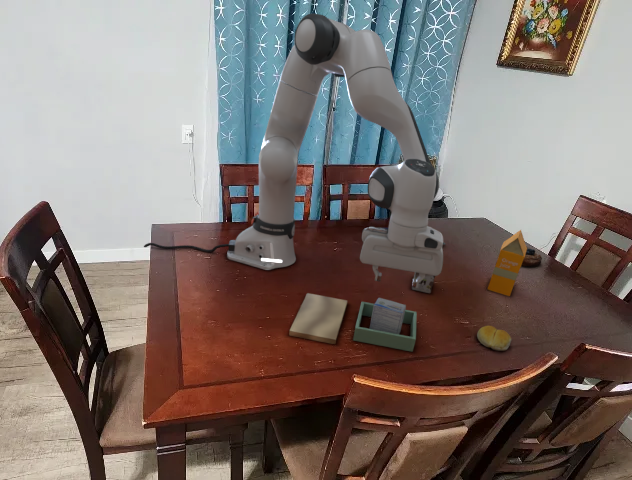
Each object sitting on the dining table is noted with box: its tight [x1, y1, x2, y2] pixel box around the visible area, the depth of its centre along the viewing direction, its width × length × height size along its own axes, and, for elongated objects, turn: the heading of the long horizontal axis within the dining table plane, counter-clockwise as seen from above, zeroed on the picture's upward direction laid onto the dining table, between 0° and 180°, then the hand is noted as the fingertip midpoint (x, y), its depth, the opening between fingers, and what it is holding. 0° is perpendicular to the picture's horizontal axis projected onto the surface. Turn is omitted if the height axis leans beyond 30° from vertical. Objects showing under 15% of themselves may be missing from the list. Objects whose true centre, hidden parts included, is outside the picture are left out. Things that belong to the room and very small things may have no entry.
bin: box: [352, 301, 418, 352], centre depth 118 cm, size 16×14×4 cm
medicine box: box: [369, 297, 407, 335], centre depth 117 cm, size 8×4×9 cm, turn 71°
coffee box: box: [411, 245, 444, 294], centre depth 141 cm, size 9×6×16 cm
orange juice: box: [487, 229, 527, 297], centre depth 145 cm, size 8×9×20 cm
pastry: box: [521, 245, 543, 268], centre depth 172 cm, size 11×12×6 cm
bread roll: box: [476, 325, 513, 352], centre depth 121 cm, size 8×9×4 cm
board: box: [288, 292, 348, 345], centre depth 120 cm, size 12×20×2 cm, turn 172°
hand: (396, 283), depth 112 cm, fingers open, 8 cm apart
